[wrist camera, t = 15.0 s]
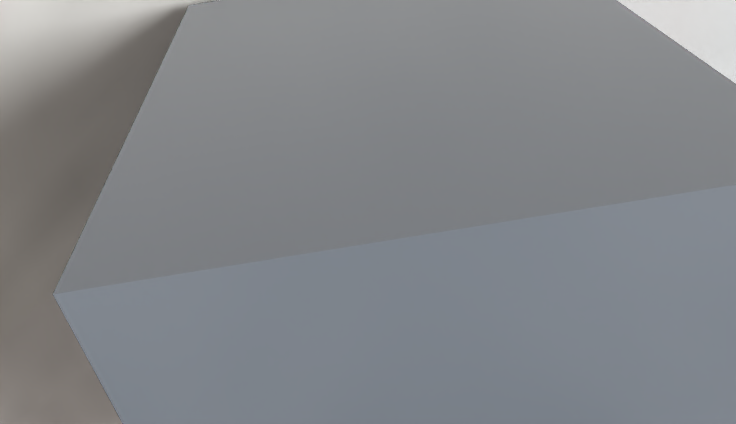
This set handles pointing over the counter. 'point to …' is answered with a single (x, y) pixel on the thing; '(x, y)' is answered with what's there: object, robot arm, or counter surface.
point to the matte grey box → (417, 221)
